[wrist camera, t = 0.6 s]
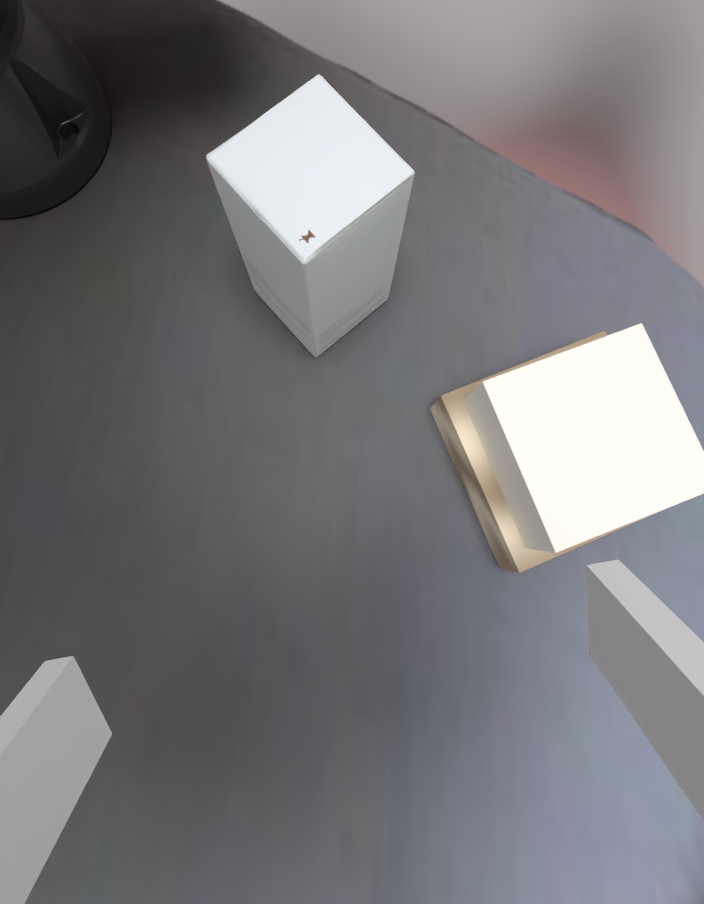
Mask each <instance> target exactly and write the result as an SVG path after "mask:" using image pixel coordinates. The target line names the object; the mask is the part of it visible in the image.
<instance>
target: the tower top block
mask: <svg viewBox="0 0 704 904" xmlns="http://www.w3.org/2000/svg"><path fill="white" fill-rule="evenodd" d="M464 403H465V405H466V407H467V410H468V412H469V415H470V417H471V419H472V422H473V424H474V426H475V429H476V431H477V434H478V436H479V438H480V441H481V443H482V446H483V448H484V450H485V453H486V455H487V457H488V460H489V462H490V465H491V467H492V469H493V472H494V474H495V477H496V479H497V481H498V484H499V486H500V488H501V491H502V493H503V496H504V498H505V500H506V503H507V505H508V507H509V510H510V512H511V515H512V517H513V519H514V522H515V524H516V527H517V529H518V531H519V534H520V536H521V538H522V541H523V543H524V546H525V548H528V549H534V550H541V551H547V552H553V553H557V552H559V551H562V550H564V549H567V548H569V547H572V546H574V545H577V544H579V543H582V542H584V541H587V540H589V539H592V538H594V537H597V536H599V535H602V534H604V533H606V532H609V531H611V530H614V529H616V528H619V527H621V526H624V525H626V524H629V523H631V522H634V521H636V520H639V519H641V518H644V517H646V516H649V515H651V514H654V513H656V512H659V511H661V510H664V509H666V508H669V507H671V506H674V505H676V504H678V503H681V502H683V501H686V500H688V499H691V498H693V497H696V496H698V495H701V494H703V493H704V451H703V449H702V447H701V445H700V443H699V441H698V439H697V437H696V434H695V432H694V430H693V428H692V426H691V424H690V422H689V420H688V418H687V416H686V414H685V412H684V410H683V408H682V405H681V403H680V401H679V399H678V397H677V395H676V393H675V391H674V389H673V387H672V385H671V383H670V381H669V379H668V376H667V374H666V372H665V370H664V368H663V366H662V364H661V362H660V360H659V358H658V356H657V354H656V352H655V350H654V347H653V345H652V343H651V341H650V339H649V337H648V335H647V333H646V331H645V329H644V327H643V325H642V323H641V324H638V325H636V326H633V327H630V328H627V329H625V330H622V331H619V332H616V333H614V334H611V335H608V336H606V337H603V338H600V339H597V340H595V341H592V342H589V343H586V344H584V345H581V346H578V347H575V348H573V349H570V350H567V351H565V352H562V353H559V354H556V355H554V356H551V357H548V358H545V359H543V360H540V361H537V362H535V363H532V364H529V365H526V366H524V367H521V368H518V369H515V370H513V371H510V372H507V373H504V374H502V375H499V376H496V377H494V378H491V379H488V380H485V381H483V382H482V383H480V384H479V385H478V386H477V387H476V388H475V389H474V390H473V391H472V392H471V393H470V394H469V395H468V396H467V397H466V398H465V399H464Z"/></svg>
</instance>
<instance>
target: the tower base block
mask: <svg viewBox="0 0 704 904" xmlns="http://www.w3.org/2000/svg"><path fill="white" fill-rule="evenodd" d="M606 336H607V334H606V332H605V331H603V332H600V333H598V334H595V335H593V336H590V337H588V338H585V339H582V340H580V341H577V342H575V343H572V344H570V345H567V346H565V347H562V348H560V349H557V350H555V351H552V352H550V353H547V354H545V355H542V356H540V357H537V358H535V359H532V360H530V361H527V362H524V363H522V364H519V365H517V366H514V367H512V368H509V369H507V370H504V371H502V372H499V373H497V374H494V375H492V376H489V377H487V378H484V379H482V380H479V381H477V382H474V383H471V384H469V385H466V386H464V387H461V388H459V389H456V390H454V391H451V392H449V393H446V394H444V395H441V396H440V397H439V398H438V399H437V401H436V402H435V403H434V404H433V405H432V407H431V408H430V410H431V412H432V415H433V417H434V419H435V422H436V424H437V426H438V428H439V431H440V433H441V435H442V437H443V440H444V442H445V444H446V447H447V449H448V451H449V453H450V456H451V458H452V460H453V462H454V465H455V467H456V469H457V472H458V474H459V476H460V478H461V481H462V483H463V485H464V487H465V490H466V492H467V494H468V497H469V499H470V501H471V503H472V506H473V508H474V510H475V512H476V515H477V517H478V519H479V522H480V524H481V526H482V528H483V531H484V533H485V535H486V538H487V540H488V542H489V544H490V547H491V549H492V551H493V553H494V556H495V558H496V560H497V563H498V565H499V567H501V568H504V569H508V570H511V571H515V572H518V573H521V572H523V571H525V570H527V569H530V568H532V567H534V566H537V565H539V564H541V563H543V562H546V561H548V560H550V559H553V558H555V557H557V556H559V555H562V554H564V553H566V552H569V551H571V550H573V549H575V548H578V547H580V546H582V545H585V544H587V543H589V542H591V541H594V540H596V539H598V538H600V537H603V536H605V535H607V534H610V533H612V532H614V531H616V530H619V529H621V528H623V527H626V526H628V525H630V524H632V523H635V522H637V521H639V520H642V519H644V518H646V517H648V516H646V517H644V518H641V519H639V520H636V521H634V522H631V523H629V524H626V525H624V526H621V527H619V528H616V529H614V530H611V531H609V532H606V533H604V534H602V535H599V536H597V537H594V538H592V539H589V540H587V541H584V542H582V543H579V544H577V545H574V546H572V547H569V548H567V549H564V550H562V551H559V552H557V553H553V552H547V551H541V550H534V549H528V548H525V546H524V543H523V541H522V538H521V536H520V534H519V531H518V529H517V527H516V524H515V522H514V519H513V517H512V515H511V512H510V510H509V507H508V505H507V503H506V500H505V498H504V496H503V493H502V491H501V488H500V486H499V484H498V481H497V479H496V477H495V474H494V472H493V469H492V467H491V465H490V462H489V460H488V457H487V455H486V453H485V450H484V448H483V446H482V443H481V441H480V438H479V436H478V434H477V431H476V429H475V426H474V424H473V422H472V419H471V417H470V415H469V412H468V410H467V407H466V405H465V403H464V399H465V398H466V397H467V396H468V395H469V394H470V393H471V392H472V391H473V390H474V389H475V388H476V387H477V386H478V385H479V384H480V383H482V382H483V381H485V380H488V379H491V378H494V377H496V376H499V375H502V374H504V373H507V372H510V371H513V370H515V369H518V368H521V367H524V366H526V365H529V364H532V363H535V362H537V361H540V360H543V359H545V358H548V357H551V356H554V355H556V354H559V353H562V352H565V351H567V350H570V349H573V348H575V347H578V346H581V345H584V344H586V343H589V342H592V341H595V340H597V339H600V338H603V337H606ZM666 509H667V508H666ZM661 511H662V510H661ZM659 512H660V511H659ZM656 513H657V512H656ZM654 514H655V513H654ZM651 515H653V514H651ZM651 515H649V516H651Z"/></svg>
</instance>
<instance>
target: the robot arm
mask: <svg viewBox="0 0 704 904" xmlns="http://www.w3.org/2000/svg"><path fill="white" fill-rule="evenodd" d="M110 131H111V115H110V109H109V104H108V101H107V98H106V95H105V93H104V91H103V89H102V87H101V85H100V83H99V81H98V79H97V78H96V76H95V74H94V72H93V70H92V69H91V67H90V65H89V63H88V61H87V60H86V58H85V57H84V55H83V54H82V53H81V51H80V50H79V49H78V48H77V46H76V45H75V44H74V43H73V42H72V41H71V40H70V39H69V38H68V37H67V36H66V35H65V34H64V32H63V31H62V30H61V29H60V28H59V27H58V26H57V25H56V24H55V23H54V22H53V21H52V20H51V19H50V18H49V17H48V16H47V15H46V14H45V13H44V12H43V11H42V10H41V9H40V8H39V7H38V6H37V5H36V4H35V3H34V2H33V1H32V0H0V218H15V217H22V216H27V215H31V214H34V213H38V212H41V211H43V210H46V209H48V208H51V207H53V206H55V205H57V204H59V203H61V202H62V201H64V200H65V199H67V198H68V197H70V196H71V195H73V194H74V193H75V192H76V191H78V190H79V189H80V188H81V187H82V186H83V185H84V184H85V183H86V182H87V181H88V180H89V179H90V177H91V176H92V175H93V174H94V172H95V171H96V169H97V168H98V166H99V164H100V163H101V161H102V159H103V156H104V154H105V152H106V149H107V146H108V142H109V138H110ZM587 591H588V625H589V654H590V655H591V657H592V658H593V660H594V661H595V662H596V664H597V665H598V667H599V668H600V670H601V671H602V673H603V674H604V676H605V677H606V679H607V680H608V681H609V683H610V684H611V686H612V687H613V689H614V690H615V692H616V693H617V695H618V696H619V698H620V699H621V700H622V702H623V703H624V705H625V706H626V708H627V709H628V711H629V712H630V714H631V715H632V717H633V718H634V719H635V721H636V722H637V724H638V725H639V727H640V728H641V730H642V731H643V733H644V734H645V736H646V737H647V738H648V740H649V741H650V743H651V744H652V746H653V747H654V749H655V750H656V752H657V753H658V755H659V756H660V757H661V759H662V760H663V762H664V763H665V765H666V766H667V768H668V769H669V771H670V772H671V774H672V775H673V776H674V778H675V779H676V781H677V782H678V784H679V785H680V787H681V788H682V790H683V791H684V793H685V794H686V795H687V797H688V798H689V800H690V801H691V803H692V804H693V806H694V807H695V809H696V810H697V812H698V813H699V814H700V816H701V817H702V819H703V820H704V642H703V641H702V640H701V639H700V638H699V637H698V636H697V635H696V634H695V633H694V632H692V631H691V630H690V629H689V628H688V627H687V626H686V625H685V624H684V623H683V622H682V621H681V620H680V619H679V618H678V617H677V616H676V615H675V614H674V613H673V612H672V611H671V610H670V609H669V608H668V607H667V606H666V605H665V604H664V603H663V602H662V601H661V600H659V599H658V598H657V597H656V596H655V595H654V594H653V593H652V592H651V591H650V590H649V589H648V588H647V587H646V586H645V585H644V584H643V583H642V582H641V581H640V580H639V579H638V578H637V577H636V576H635V575H634V574H633V573H632V572H631V571H630V570H629V569H628V568H626V567H625V566H624V565H623V564H622V563H621V562H620V561H619V560H613V561H607V562H602V563H596V564H590V565H587ZM111 735H112V732H111V730H110V728H109V726H108V724H107V722H106V720H105V718H104V716H103V714H102V712H101V710H100V708H99V706H98V704H97V702H96V700H95V698H94V696H93V694H92V692H91V690H90V688H89V686H88V684H87V682H86V680H85V678H84V676H83V674H82V672H81V670H80V668H79V666H78V664H77V662H76V660H75V658H74V656H70V657H65V658H59V659H53V660H48V661H45V662H44V663H43V664H42V665H41V666H40V668H39V669H38V670H37V671H36V673H35V674H34V675H33V676H32V678H31V679H30V680H29V681H28V683H27V684H26V685H25V686H24V688H23V689H22V690H21V691H20V693H19V694H18V695H17V696H16V698H15V699H14V700H13V701H12V703H11V704H10V705H9V706H8V708H7V709H6V710H5V711H4V713H3V714H2V715H1V716H0V904H25V902H26V900H27V898H28V896H29V894H30V892H31V890H32V888H33V886H34V884H35V882H36V880H37V878H38V877H39V875H40V873H41V871H42V869H43V867H44V865H45V863H46V861H47V859H48V857H49V855H50V853H51V851H52V849H53V848H54V846H55V844H56V842H57V840H58V838H59V836H60V834H61V832H62V830H63V828H64V826H65V824H66V822H67V820H68V819H69V817H70V815H71V813H72V811H73V809H74V807H75V805H76V803H77V801H78V799H79V797H80V795H81V793H82V791H83V790H84V788H85V786H86V784H87V782H88V780H89V778H90V776H91V774H92V772H93V770H94V768H95V766H96V764H97V762H98V761H99V759H100V757H101V755H102V753H103V751H104V749H105V747H106V745H107V743H108V741H109V739H110V737H111Z"/></svg>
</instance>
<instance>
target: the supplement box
mask: <svg viewBox="0 0 704 904" xmlns="http://www.w3.org/2000/svg"><path fill="white" fill-rule="evenodd" d="M206 159H207V162H208V165H209V168H210V171H211V174H212V177H213V180H214V183H215V185H216V188H217V191H218V194H219V196H220V199H221V202H222V204H223V207H224V210H225V212H226V215H227V218H228V220H229V223H230V225H231V228H232V231H233V233H234V236H235V239H236V241H237V244H238V247H239V249H240V252H241V255H242V258H243V260H244V263H245V265H246V268H247V271H248V274H249V277H250V280H251V282H252V285H253V288H254V290H255V291H256V292H257V294H258V295H259V296H260V297H261V298H262V299H263V301H264V302H265V303H266V304H267V305H268V306H269V307H270V309H271V310H272V311H273V312H274V313H275V314H276V315H277V316H278V317H279V319H280V320H281V321H282V322H283V323H284V324H285V325H286V326H287V327H288V329H289V330H290V331H291V332H292V333H293V334H294V335H295V336H296V337H297V338H298V340H299V341H300V342H301V343H302V344H303V345H304V346H305V347H306V348H307V349H308V351H309V352H310V353H311V354H312V355H313V356H314V357H315V358H317V357H318V356H319V355H321V354H322V353H323V352H324V351H325V350H327V349H328V348H329V347H330V346H332V345H333V344H334V343H335V342H337V341H338V340H339V339H340V338H341V337H343V336H344V335H345V334H346V333H348V332H349V331H350V330H351V329H352V328H354V327H355V326H356V325H357V324H359V323H360V322H361V321H362V320H363V319H365V318H366V317H367V316H368V315H369V314H371V313H372V312H373V311H374V310H375V309H377V308H378V307H379V306H380V305H381V304H383V303H384V302H385V301H386V300H387V299H388V298H389V293H390V288H391V284H392V279H393V274H394V269H395V264H396V259H397V255H398V250H399V245H400V240H401V236H402V231H403V226H404V221H405V217H406V211H407V207H408V202H409V197H410V192H411V188H412V183H413V178H414V174H415V172H414V170H413V169H412V168H411V167H410V166H409V165H408V164H407V163H406V162H405V161H404V160H403V159H402V158H401V157H400V156H399V155H398V154H397V153H396V152H395V151H394V150H393V149H392V148H391V147H390V146H389V145H388V144H387V143H386V142H385V141H384V140H383V139H382V138H381V137H380V136H379V135H378V134H377V133H376V132H375V131H374V130H373V129H372V128H371V127H370V126H369V125H368V124H367V123H366V122H365V120H364V119H363V118H362V117H361V116H360V115H359V114H358V113H357V112H356V111H355V110H354V109H353V108H352V107H351V106H350V105H349V104H348V103H347V102H346V101H345V100H344V99H343V98H342V97H341V96H340V95H339V94H338V93H337V92H336V91H335V90H334V89H333V88H332V87H331V86H330V85H329V84H328V82H327V81H326V80H325V79H324V78H323V77H322V76H321V75H317V76H315V77H314V78H313V79H311V80H310V81H308V82H307V83H306V84H304V85H303V86H302V87H300V88H299V89H297V90H296V91H295V92H293V93H292V94H291V95H289V96H288V97H287V98H285V99H284V100H282V101H281V102H280V103H278V104H277V105H276V106H274V107H273V108H271V109H270V110H269V111H267V112H266V113H265V114H263V115H262V116H261V117H259V118H258V119H257V120H255V121H254V122H253V123H252V124H250V125H249V126H248V127H246V128H245V129H243V130H242V131H240V132H239V133H237V134H236V135H234V136H233V137H231V138H230V139H229V140H227V141H226V142H224V143H223V144H221V145H220V146H219V147H217V148H216V149H214V150H213V151H211V152H210V153H208V154H207V155H206Z"/></svg>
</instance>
